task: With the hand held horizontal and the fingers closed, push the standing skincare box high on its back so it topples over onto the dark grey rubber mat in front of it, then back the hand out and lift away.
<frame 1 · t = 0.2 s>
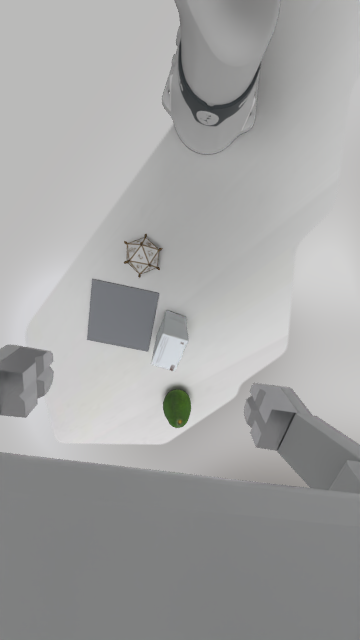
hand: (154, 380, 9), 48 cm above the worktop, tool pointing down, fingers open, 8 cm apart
game die: (145, 255, 54), on the worktop
skincare box: (171, 326, 60), on the worktop
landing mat: (122, 316, 59), on the worktop
fruit: (177, 393, 67), on the worktop
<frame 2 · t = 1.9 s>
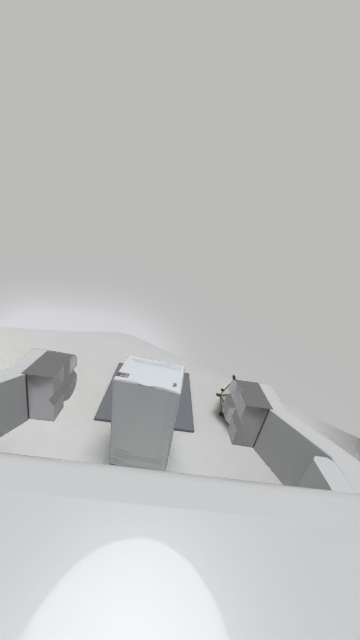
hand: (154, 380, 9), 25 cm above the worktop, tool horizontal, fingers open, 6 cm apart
game die: (233, 417, 43), on the worktop
skincare box: (140, 454, 33), on the worktop
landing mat: (150, 392, 45), on the worktop
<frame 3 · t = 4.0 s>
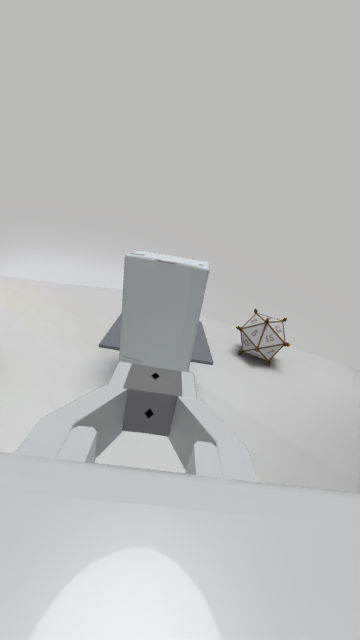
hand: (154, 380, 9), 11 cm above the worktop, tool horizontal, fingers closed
game die: (254, 357, 39), on the worktop
skincare box: (153, 377, 28), on the worktop
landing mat: (160, 332, 40), on the worktop
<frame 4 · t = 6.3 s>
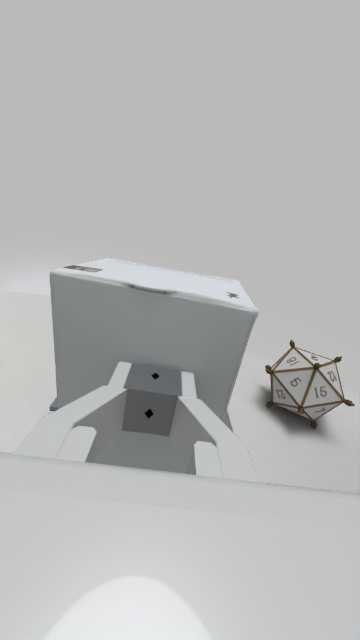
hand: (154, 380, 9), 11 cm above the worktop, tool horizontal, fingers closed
game die: (289, 411, 26), on the worktop
skincare box: (133, 480, 16), on the worktop, touching gripper
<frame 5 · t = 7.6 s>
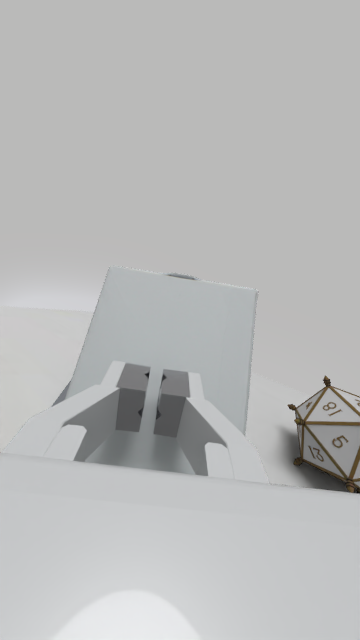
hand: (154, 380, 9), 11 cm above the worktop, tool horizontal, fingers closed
game die: (323, 468, 20), on the worktop
skincare box: (112, 610, 9), point 2 cm above the worktop, touching gripper
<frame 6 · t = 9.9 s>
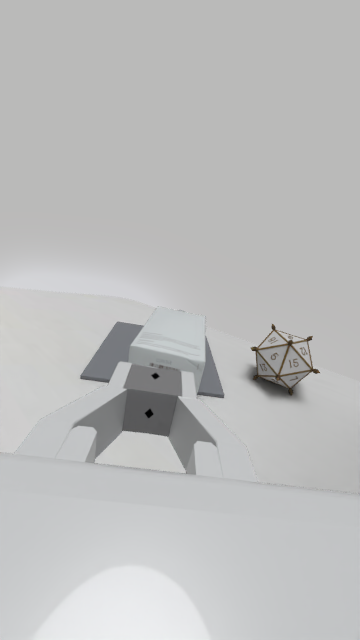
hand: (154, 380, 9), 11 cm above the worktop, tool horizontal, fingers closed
game die: (272, 383, 32), on the worktop
skincare box: (160, 376, 23), point 3 cm above the worktop, touching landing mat
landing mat: (158, 352, 34), on the worktop
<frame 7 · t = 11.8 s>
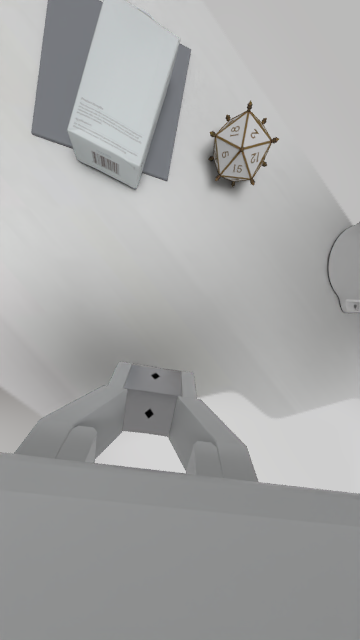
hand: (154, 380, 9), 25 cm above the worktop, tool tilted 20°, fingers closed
game die: (226, 166, 34), on the worktop
skincare box: (103, 164, 26), point 3 cm above the worktop, touching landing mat
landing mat: (115, 91, 28), on the worktop
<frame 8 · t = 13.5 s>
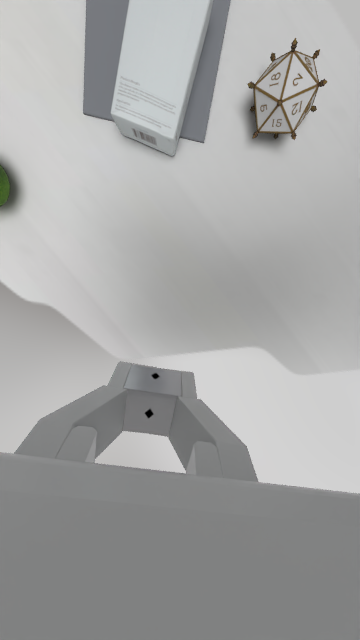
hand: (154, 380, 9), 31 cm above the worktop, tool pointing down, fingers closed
game die: (270, 115, 31), on the worktop
skincare box: (142, 138, 29), point 3 cm above the worktop, touching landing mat
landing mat: (154, 48, 28), on the worktop
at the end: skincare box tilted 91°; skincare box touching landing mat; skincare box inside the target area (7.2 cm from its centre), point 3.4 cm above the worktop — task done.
